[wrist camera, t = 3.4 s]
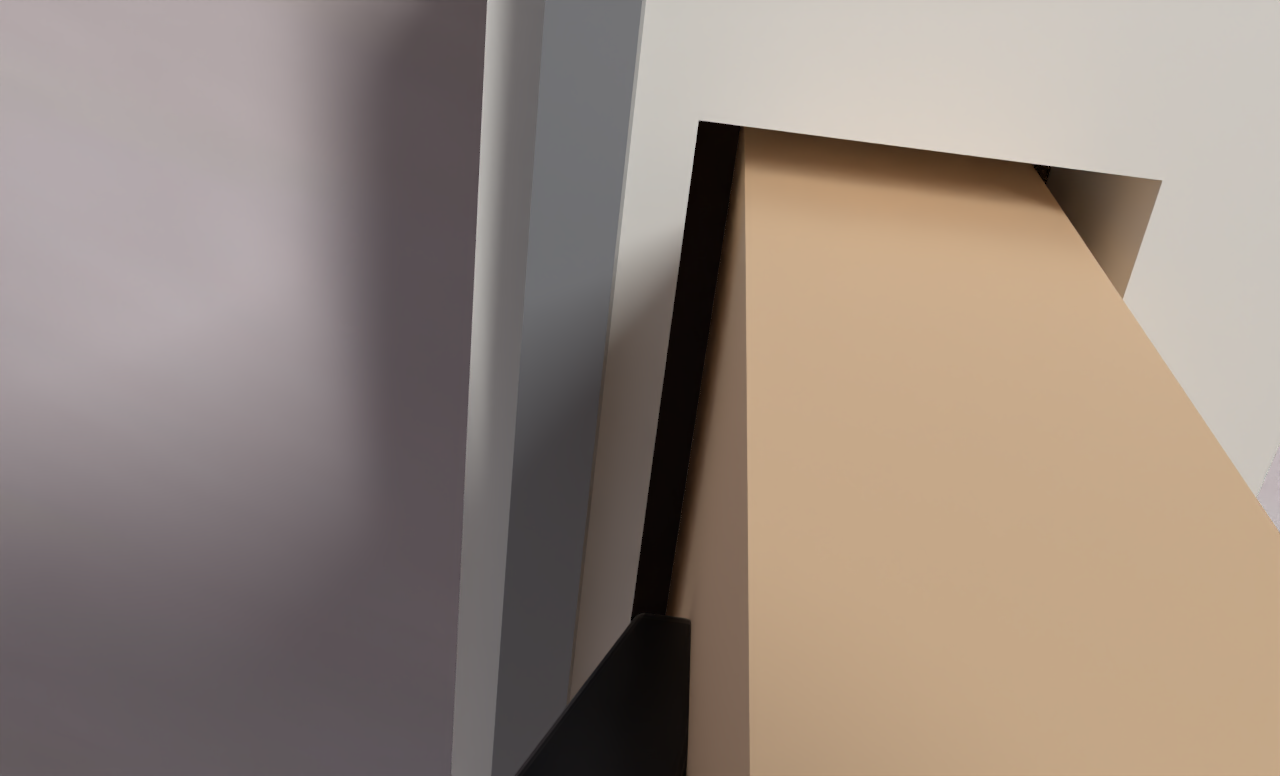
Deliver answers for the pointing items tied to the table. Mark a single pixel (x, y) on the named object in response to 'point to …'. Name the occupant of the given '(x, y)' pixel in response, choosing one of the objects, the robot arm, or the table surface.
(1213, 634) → the tan cardboard block
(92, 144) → the table surface
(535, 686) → the dispenser
